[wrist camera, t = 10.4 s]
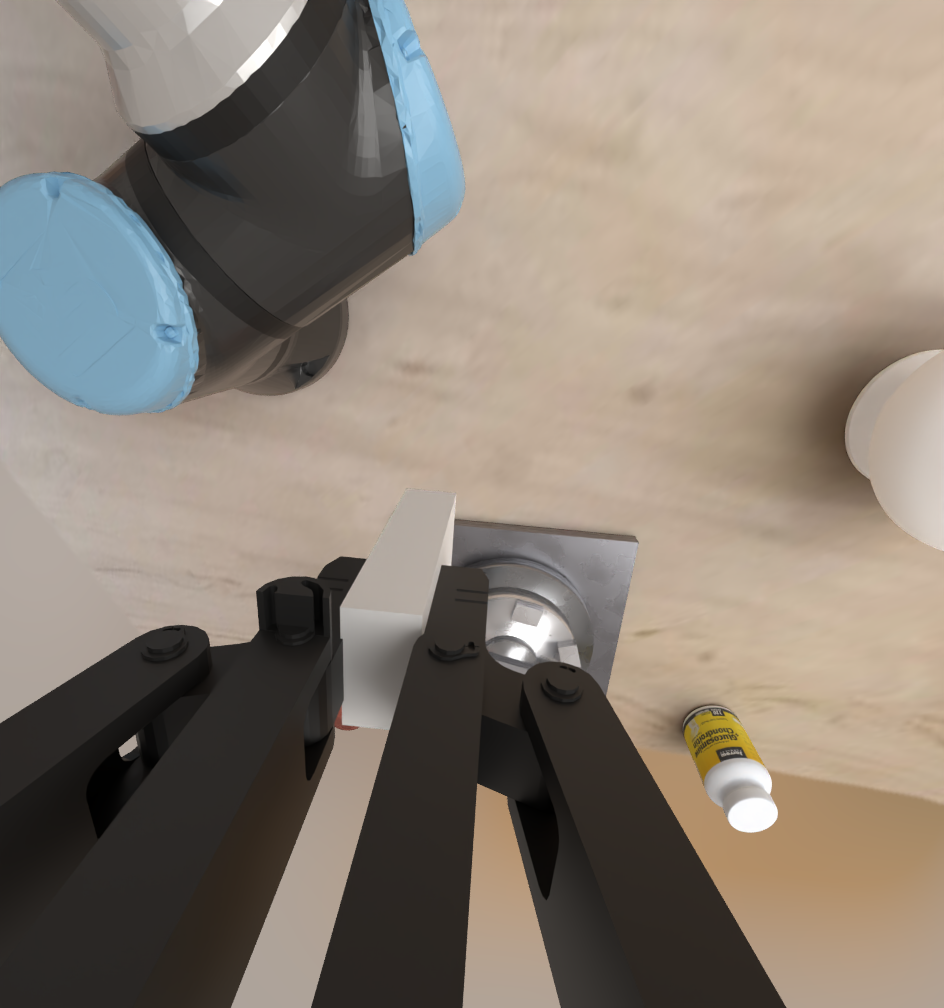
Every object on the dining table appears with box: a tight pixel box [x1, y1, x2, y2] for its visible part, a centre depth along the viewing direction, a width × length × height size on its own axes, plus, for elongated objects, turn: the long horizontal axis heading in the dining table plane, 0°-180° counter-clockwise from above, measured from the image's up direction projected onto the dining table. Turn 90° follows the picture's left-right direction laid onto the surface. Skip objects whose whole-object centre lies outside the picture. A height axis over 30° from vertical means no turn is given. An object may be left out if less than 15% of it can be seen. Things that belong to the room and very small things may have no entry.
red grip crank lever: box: [334, 587, 581, 730], centre depth 46 cm, size 22×14×14 cm, turn 73°
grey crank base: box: [451, 519, 639, 696], centre depth 55 cm, size 24×24×4 cm
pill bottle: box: [683, 706, 778, 832], centre depth 55 cm, size 6×6×12 cm
